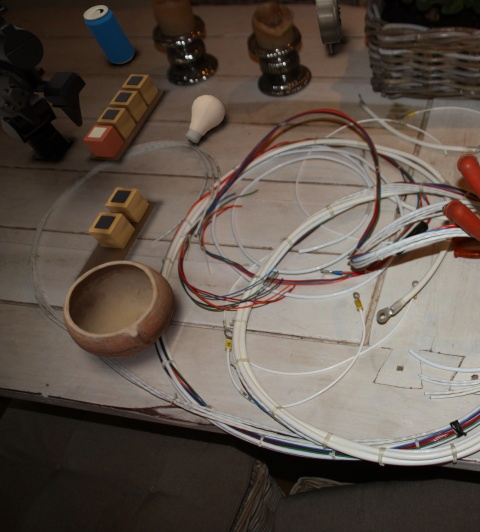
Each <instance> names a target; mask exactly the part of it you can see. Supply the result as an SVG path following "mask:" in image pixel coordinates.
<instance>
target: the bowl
mask: <svg viewBox="0 0 480 532" xmlns="http://www.w3.org/2000/svg"><path fill="white" fill-rule="evenodd" d="M174 312H175V295H174V291H173V288H172V286H171V284H170V282H169V281H168V280H167V279H166V277H164V276H163V274H161V273H160V272H159V271H157V270H156V269H154V268H152V267H151V266H149V265H147V264H145V263H141V262H139V261H134V260H125V259H124V261H112V262H108V263H105V264H101V265H99V266H97V267H94V268H93V269H91V270H89V271H88V272H86V273H85V274H83V275H82V276H81V277H78V279H77V280H75V282H74V283H73V284H72V285H71V286H70V287H69V289H68V291H67V292H66V295H65V298H64V302H63V307H62V317H63V321H64V325H65V328H66V331H67V333H68V335H69V336H70V337H71V339H72V340H73V342H74V343H75V344H76V345H77V346H78V347H79V348H81V349H82V350H83V351H85V352H87V353H89V354H91V355H94V356H96V357H101V358H102V357H103V358H123V357H127V356H131V355H135V354H137V353H140V352H142V351H144V350H146V349H148V348H149V347H151V345H153V344H154V343H156V342H157V341H158V340H159V338H161V336H162V335H163V334H164V333H165V331H166V330H167V328H168V326H169V325H170V322H171V321H172V318H173V315H174Z"/></svg>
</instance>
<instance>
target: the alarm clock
mask: <svg viewBox="0 0 480 532" xmlns="http://www.w3.org/2000/svg"><path fill="white" fill-rule="evenodd" d="M314 2H315V11H316V17H317V18H316V19H317V23H318V24H317V25H318V30H319V34H320V39H321V43H322V44H323V45H328V47H329V51H330V55H333V54H334V51H333V44H337V43H340V42H341V41H343V42H346V40H345V38H344V37H343V31H342V25H343V23H342V18H341V13H342V11H340V10H341V6H339V2H340V1H339V0H314Z"/></svg>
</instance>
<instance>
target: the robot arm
mask: <svg viewBox="0 0 480 532" xmlns="http://www.w3.org/2000/svg"><path fill="white" fill-rule="evenodd" d="M9 11H10V9H9V8H8V6H7V5H6V4H4V3H3V0H0V123H1V127H2V130H3V131H4V132H5V133H6V134H7V135H9V137H11V138H12V139H14V140H16V141H18V142H20V143H22V144H26V143H27V144H28V145H29V146H30V148H31V149H32V150H33V151H34V153H33V155H32V156H31V159H33V160H37V161H38V160H39V161H51V162H53V161H54V162H57V161H59V160H61V158H62V156H63V155H64V154H65V152H66V151H67V150H68V148H69V147H70V146H71V144H72V143H73V142H74V139H73V138H72V137H64V136H63V135H62V133H61V132H60V131H59V129H57V128H56V127H55V126H54V125H53V123H52V122H53V121H54V120H57V115H56V113H55V112H54V109H53V108H55V109H60V110H62V112H63V113H64V114H65V115H66V116H67V117H68V119H70V121H71V122H72V123H73V124H74V125H75V126H77V127H78V128H81V127H82V126H83V116H82V109H81V103H80V93H81V92H82V90H84V88H85V87H86V85H87V83H86V81H85V80H84V79H83V77H82V75H81V74H80V73H79V72H75V71H56V72H55V73H53V75H52V76H51V78H50V79H43V76H44V75H45V74H46V71H45V70H44V68H43V67H41V66H39V64H40V63H41V62H42V60H43V58H44V54H45V53H44V45H43V43H42V41H41V39H40V38H39V37H38V36H37V35H36V34H34V33H33V32H31V31H29V30H27V29H24V28H21V27H18V26H16V25H14V24H13V23H11V22H10V21H8V20H5V18H4V17H3V16H2V15H4V14H6V13H7V12H9ZM38 93H42V94H43V96H41V95H39V94H38ZM50 104H52V105H50Z"/></svg>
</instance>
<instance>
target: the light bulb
mask: <svg viewBox="0 0 480 532" xmlns="http://www.w3.org/2000/svg"><path fill="white" fill-rule="evenodd" d="M225 115H226V110H225V106H224V104H223V103H222V101H221V100H220V99H218V98H217V97H216V96H213V95H210V94H202V95H200V96H198V97H196V99H195V100H194V101H193V103H192V106H191V121H190V124H189V126H188V127H189V129H188V130H187V132H186V134H185V138H186V139H187V141H188V142H189V143H190V144H198V143H199V142H200V140H201V139H202V137H203V136H205V135H206V133H207V132H208V131H210V130H213V129H214V128H216V127H217V126H219V125H220V124H221V123H222V122H223V120H224V117H225Z"/></svg>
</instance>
